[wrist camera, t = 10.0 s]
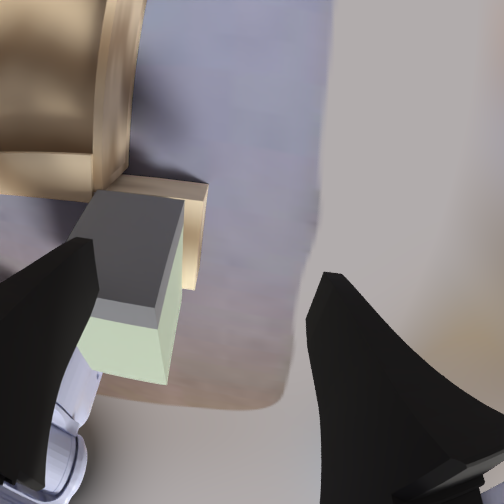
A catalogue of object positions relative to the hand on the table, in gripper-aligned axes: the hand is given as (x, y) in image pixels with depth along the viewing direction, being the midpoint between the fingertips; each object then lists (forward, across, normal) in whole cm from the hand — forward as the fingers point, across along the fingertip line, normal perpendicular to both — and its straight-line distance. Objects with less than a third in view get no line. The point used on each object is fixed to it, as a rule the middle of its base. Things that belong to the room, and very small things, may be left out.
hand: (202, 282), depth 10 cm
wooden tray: (+10, +13, -7) cm, 18 cm away
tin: (+7, +4, +4) cm, 9 cm away
